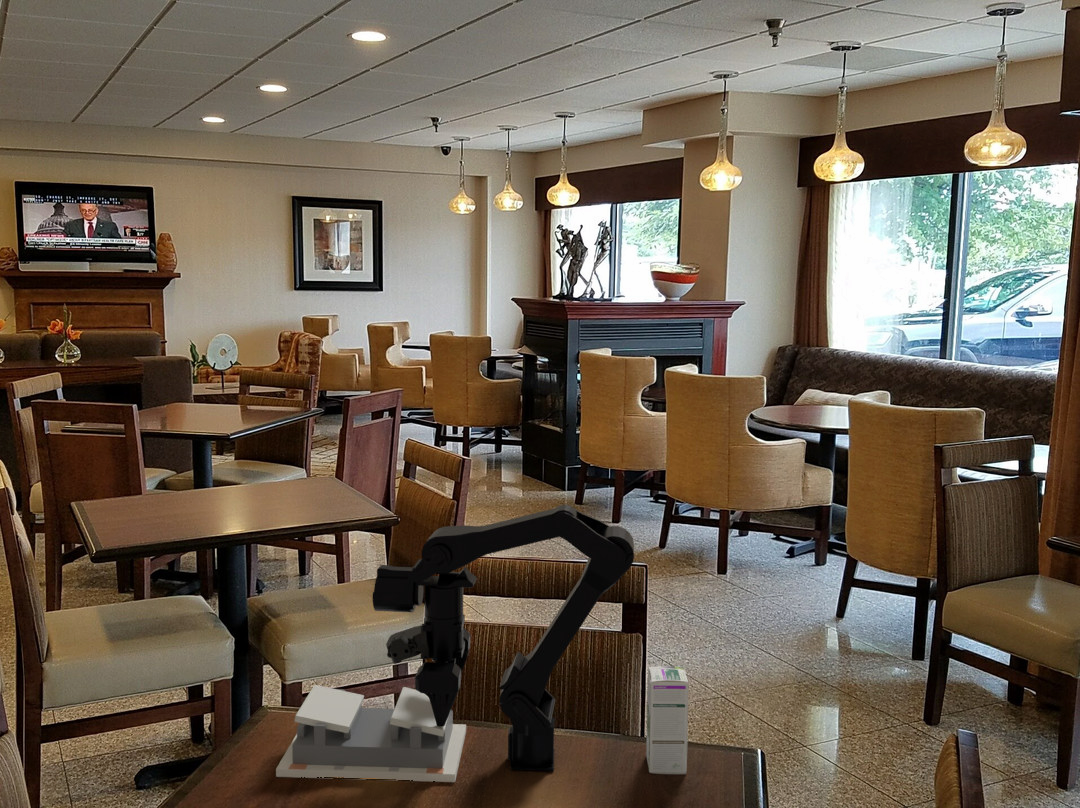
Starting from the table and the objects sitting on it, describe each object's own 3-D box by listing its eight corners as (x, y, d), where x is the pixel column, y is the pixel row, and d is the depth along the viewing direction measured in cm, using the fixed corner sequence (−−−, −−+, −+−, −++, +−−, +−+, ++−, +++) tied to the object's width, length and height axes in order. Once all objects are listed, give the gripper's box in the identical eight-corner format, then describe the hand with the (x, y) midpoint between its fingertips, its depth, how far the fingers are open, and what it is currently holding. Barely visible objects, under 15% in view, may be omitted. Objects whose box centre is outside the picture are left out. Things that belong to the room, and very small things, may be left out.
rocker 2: (450, 707, 155) (453, 698, 155) (442, 740, 144) (444, 730, 144) (401, 696, 155) (403, 686, 155) (388, 727, 144) (391, 717, 144)
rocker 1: (362, 704, 155) (364, 695, 155) (347, 737, 144) (349, 726, 144) (312, 694, 155) (314, 684, 155) (293, 725, 144) (295, 715, 144)
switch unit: (466, 731, 158) (466, 688, 157) (455, 782, 142) (455, 734, 141) (305, 726, 159) (304, 684, 158) (276, 776, 143) (275, 729, 142)
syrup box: (687, 775, 145) (691, 681, 144) (647, 774, 146) (650, 680, 144) (682, 756, 151) (686, 666, 149) (644, 755, 151) (647, 665, 149)
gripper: (400, 592, 157) (401, 686, 159) (378, 634, 138) (380, 739, 140) (470, 593, 156) (470, 687, 158) (458, 635, 138) (458, 741, 140)
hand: (444, 712), depth 149 cm, fingers open, 9 cm apart
